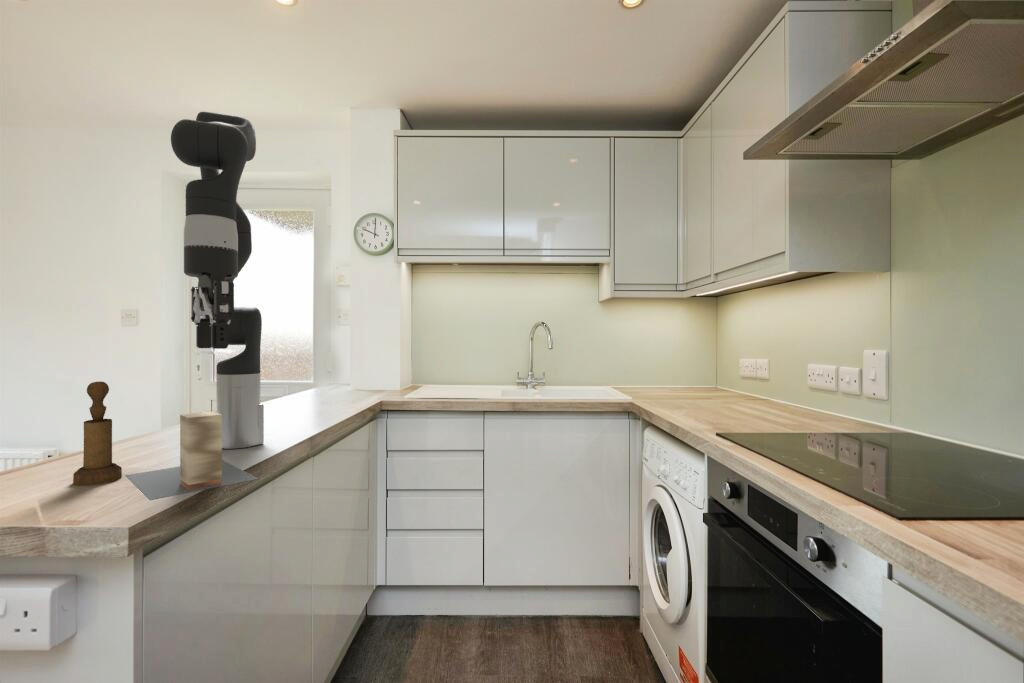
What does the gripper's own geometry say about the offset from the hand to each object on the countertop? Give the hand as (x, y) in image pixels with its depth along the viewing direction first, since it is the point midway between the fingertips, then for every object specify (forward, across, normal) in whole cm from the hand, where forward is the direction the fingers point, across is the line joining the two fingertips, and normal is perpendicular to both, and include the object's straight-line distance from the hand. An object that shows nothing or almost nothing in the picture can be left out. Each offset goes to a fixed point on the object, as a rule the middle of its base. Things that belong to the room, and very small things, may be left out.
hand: (211, 348), depth 80 cm
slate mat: (+24, +13, 0) cm, 28 cm away
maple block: (+24, +7, 0) cm, 25 cm away
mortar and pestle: (+24, +23, +12) cm, 35 cm away
